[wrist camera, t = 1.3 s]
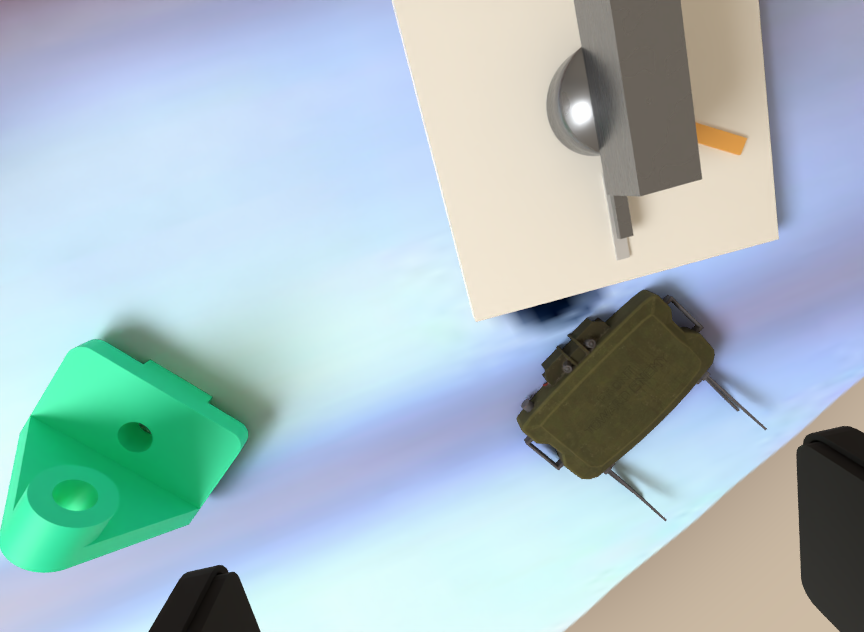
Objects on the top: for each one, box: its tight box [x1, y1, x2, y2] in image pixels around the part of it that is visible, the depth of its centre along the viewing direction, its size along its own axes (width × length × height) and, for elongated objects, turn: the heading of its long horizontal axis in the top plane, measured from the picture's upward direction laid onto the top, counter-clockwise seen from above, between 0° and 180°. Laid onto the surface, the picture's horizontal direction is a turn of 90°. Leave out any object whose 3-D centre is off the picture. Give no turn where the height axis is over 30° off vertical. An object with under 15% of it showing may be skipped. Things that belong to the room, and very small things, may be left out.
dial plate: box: [392, 0, 779, 322], centre depth 30 cm, size 22×20×2 cm
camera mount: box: [0, 339, 248, 573], centre depth 29 cm, size 12×8×10 cm, turn 54°
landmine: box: [517, 290, 767, 521], centre depth 35 cm, size 14×3×15 cm
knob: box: [546, 0, 702, 239], centre depth 26 cm, size 13×6×7 cm, turn 15°
